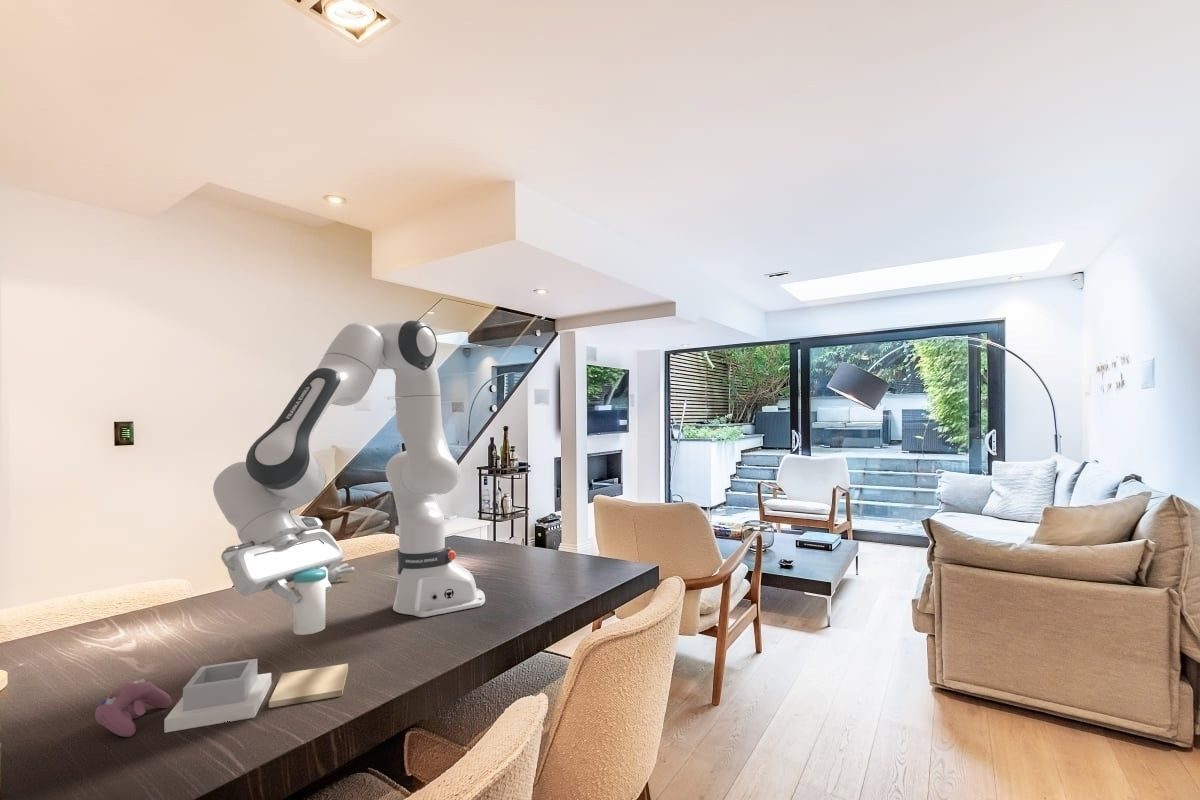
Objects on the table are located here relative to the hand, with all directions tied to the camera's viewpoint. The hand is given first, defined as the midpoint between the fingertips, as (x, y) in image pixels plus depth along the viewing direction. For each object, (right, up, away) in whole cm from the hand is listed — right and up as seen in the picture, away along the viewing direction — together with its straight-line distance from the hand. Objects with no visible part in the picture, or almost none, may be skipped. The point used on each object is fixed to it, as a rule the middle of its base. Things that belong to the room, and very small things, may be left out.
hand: (312, 596), depth 100 cm
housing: (-12, -16, -6) cm, 21 cm away
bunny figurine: (-29, -19, +64) cm, 72 cm away
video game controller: (-23, -16, -11) cm, 30 cm away
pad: (0, -16, 0) cm, 16 cm away
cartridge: (-1, -6, 0) cm, 6 cm away
